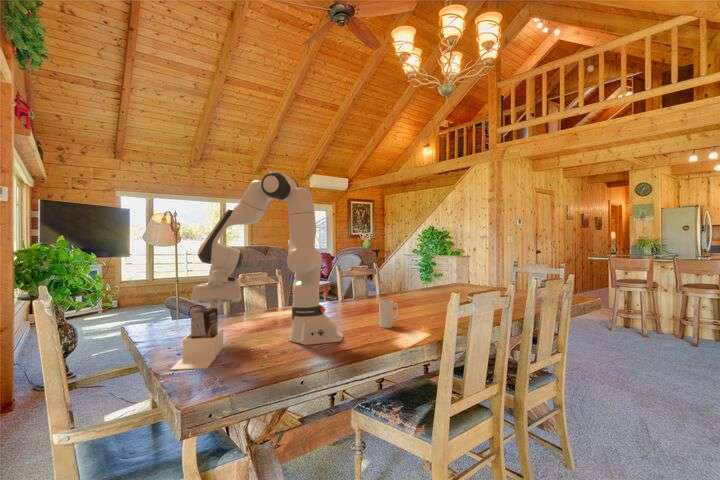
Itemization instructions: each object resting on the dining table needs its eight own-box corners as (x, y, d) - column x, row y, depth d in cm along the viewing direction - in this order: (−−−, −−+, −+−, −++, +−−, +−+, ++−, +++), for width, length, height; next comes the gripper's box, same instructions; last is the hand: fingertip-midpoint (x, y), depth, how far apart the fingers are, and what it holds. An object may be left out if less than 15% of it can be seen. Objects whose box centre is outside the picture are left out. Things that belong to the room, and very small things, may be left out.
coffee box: (207, 356, 143) (206, 312, 143) (190, 355, 144) (189, 312, 144) (218, 349, 152) (218, 307, 152) (203, 348, 153) (202, 307, 153)
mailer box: (224, 347, 155) (223, 329, 155) (207, 368, 130) (206, 347, 130) (193, 348, 153) (192, 330, 153) (169, 370, 129) (169, 349, 129)
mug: (381, 328, 183) (381, 302, 182) (377, 325, 189) (377, 300, 189) (401, 327, 185) (401, 301, 185) (396, 324, 192) (396, 299, 192)
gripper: (192, 279, 169) (185, 306, 159) (241, 278, 171) (237, 304, 161) (195, 288, 173) (189, 315, 163) (243, 287, 175) (239, 313, 166)
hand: (213, 309), depth 162 cm, fingers closed
